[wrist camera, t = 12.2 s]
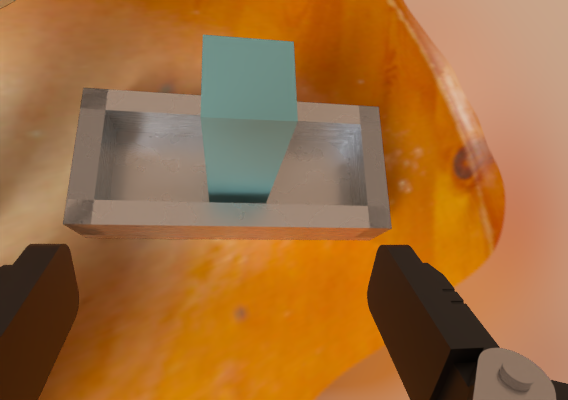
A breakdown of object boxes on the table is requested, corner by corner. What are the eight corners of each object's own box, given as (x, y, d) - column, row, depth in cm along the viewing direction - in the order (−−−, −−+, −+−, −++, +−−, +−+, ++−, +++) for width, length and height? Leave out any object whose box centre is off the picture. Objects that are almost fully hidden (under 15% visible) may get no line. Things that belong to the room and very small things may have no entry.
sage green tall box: (209, 202, 27) (200, 117, 15) (210, 149, 28) (203, 34, 17) (266, 202, 27) (297, 121, 16) (264, 151, 29) (293, 41, 17)
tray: (86, 237, 26) (62, 224, 22) (101, 118, 28) (83, 87, 25) (369, 240, 29) (391, 228, 25) (359, 132, 31) (378, 106, 28)
